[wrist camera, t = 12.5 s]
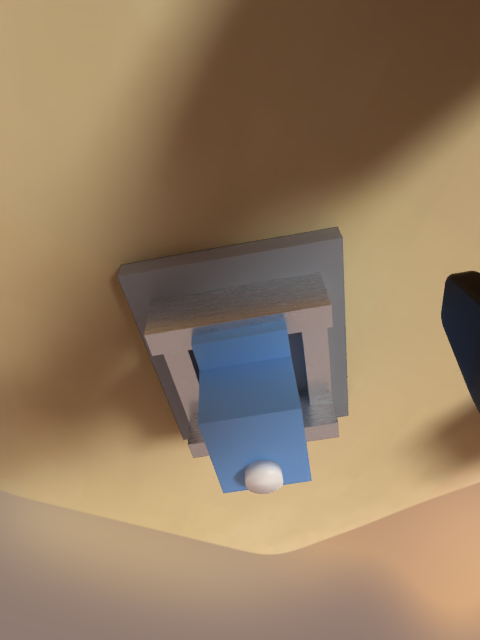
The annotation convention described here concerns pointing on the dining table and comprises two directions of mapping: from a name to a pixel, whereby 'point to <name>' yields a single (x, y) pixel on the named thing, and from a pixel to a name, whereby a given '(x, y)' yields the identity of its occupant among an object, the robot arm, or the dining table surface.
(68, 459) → the dining table surface
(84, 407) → the dining table surface
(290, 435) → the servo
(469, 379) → the robot arm
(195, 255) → the grey shallow tray
